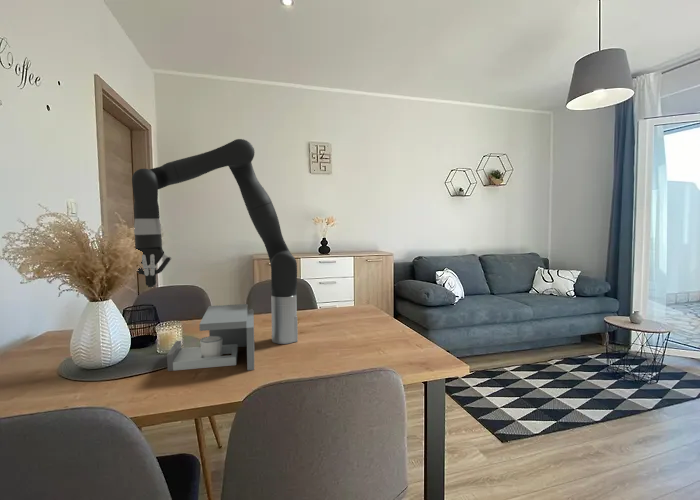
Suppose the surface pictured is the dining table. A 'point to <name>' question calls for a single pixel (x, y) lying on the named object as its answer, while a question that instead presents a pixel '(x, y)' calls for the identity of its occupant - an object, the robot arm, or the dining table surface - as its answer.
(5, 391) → the dining table surface
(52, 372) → the dining table surface
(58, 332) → the dining table surface
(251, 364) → the grey shelf
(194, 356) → the grey flat bracket
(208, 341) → the shot glass
